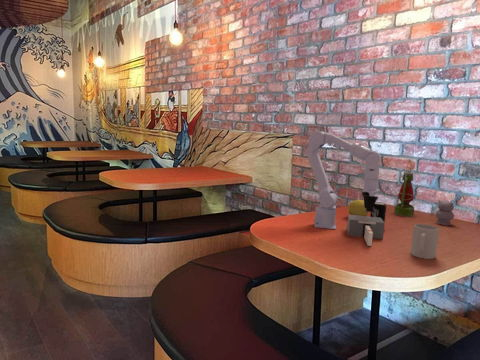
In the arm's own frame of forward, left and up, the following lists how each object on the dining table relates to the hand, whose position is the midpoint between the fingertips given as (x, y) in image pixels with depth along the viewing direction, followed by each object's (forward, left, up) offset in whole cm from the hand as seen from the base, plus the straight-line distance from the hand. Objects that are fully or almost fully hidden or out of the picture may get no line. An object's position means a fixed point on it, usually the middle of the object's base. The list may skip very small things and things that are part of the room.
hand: (368, 209), depth 173 cm
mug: (+17, -27, -11) cm, 34 cm away
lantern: (+26, +51, -11) cm, 58 cm away
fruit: (-1, +28, -11) cm, 30 cm away
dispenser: (-1, -3, -10) cm, 11 cm away
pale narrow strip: (-1, -16, -10) cm, 19 cm away
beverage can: (+6, +11, -11) cm, 16 cm away
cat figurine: (+42, +35, -11) cm, 56 cm away
